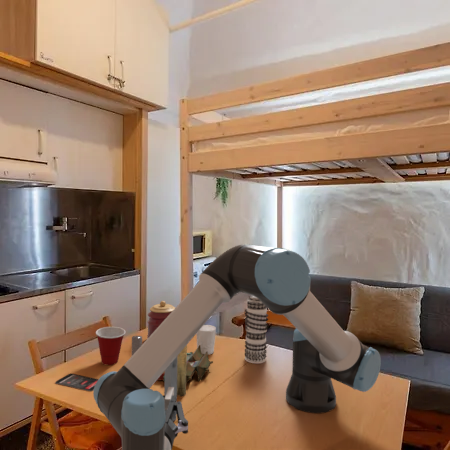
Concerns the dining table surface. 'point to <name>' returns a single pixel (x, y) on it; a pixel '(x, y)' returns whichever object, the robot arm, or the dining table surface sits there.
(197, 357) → the miniature gate
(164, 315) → the canister
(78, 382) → the smartphone
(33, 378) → the dining table surface
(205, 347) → the white cup
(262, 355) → the decorative candle
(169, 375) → the grey rectangular frame
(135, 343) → the hinge post
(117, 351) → the plastic cup
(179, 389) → the latch post
